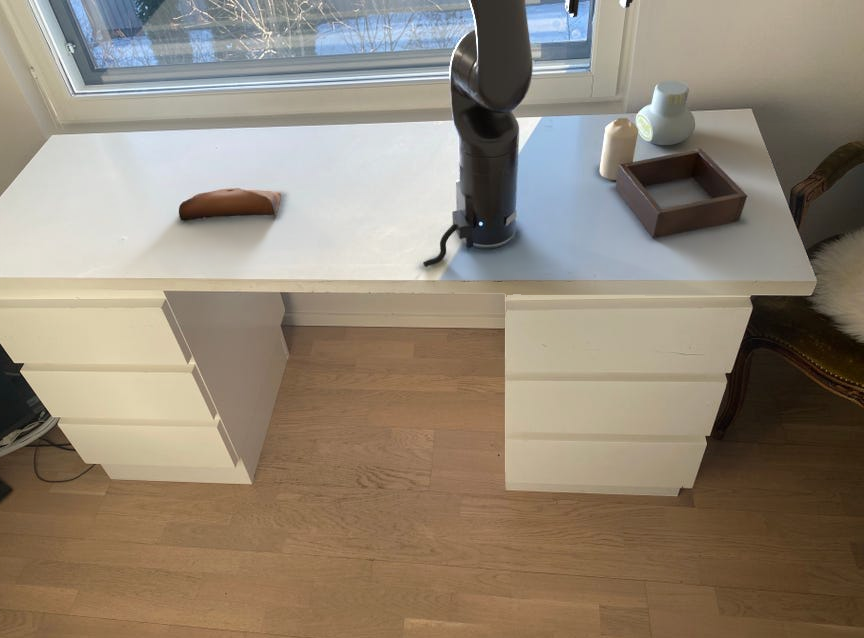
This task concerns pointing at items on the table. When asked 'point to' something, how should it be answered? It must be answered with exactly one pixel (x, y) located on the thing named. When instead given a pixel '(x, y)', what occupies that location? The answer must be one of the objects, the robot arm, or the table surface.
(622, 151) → the candle
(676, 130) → the air freshener
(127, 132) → the table surface
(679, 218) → the walnut box
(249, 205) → the sunglasses case
